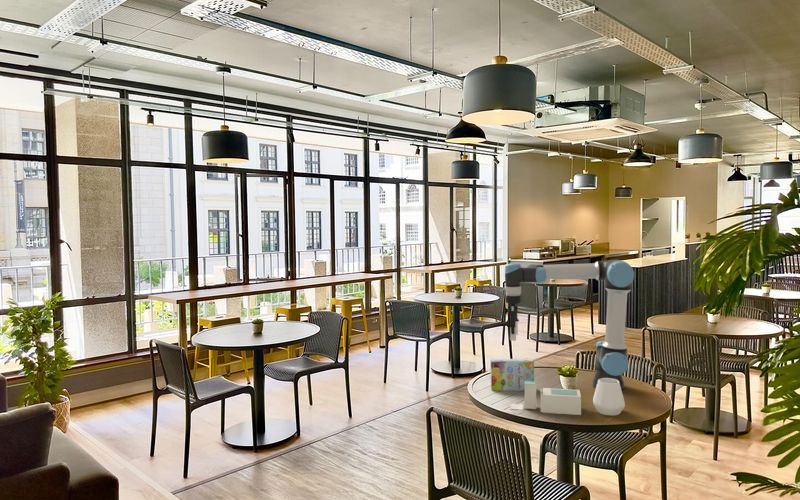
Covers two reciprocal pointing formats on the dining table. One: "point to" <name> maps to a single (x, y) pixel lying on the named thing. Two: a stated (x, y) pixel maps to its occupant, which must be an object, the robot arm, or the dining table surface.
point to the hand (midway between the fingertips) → (514, 337)
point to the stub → (530, 394)
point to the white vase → (608, 397)
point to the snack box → (511, 374)
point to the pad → (516, 407)
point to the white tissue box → (560, 401)
